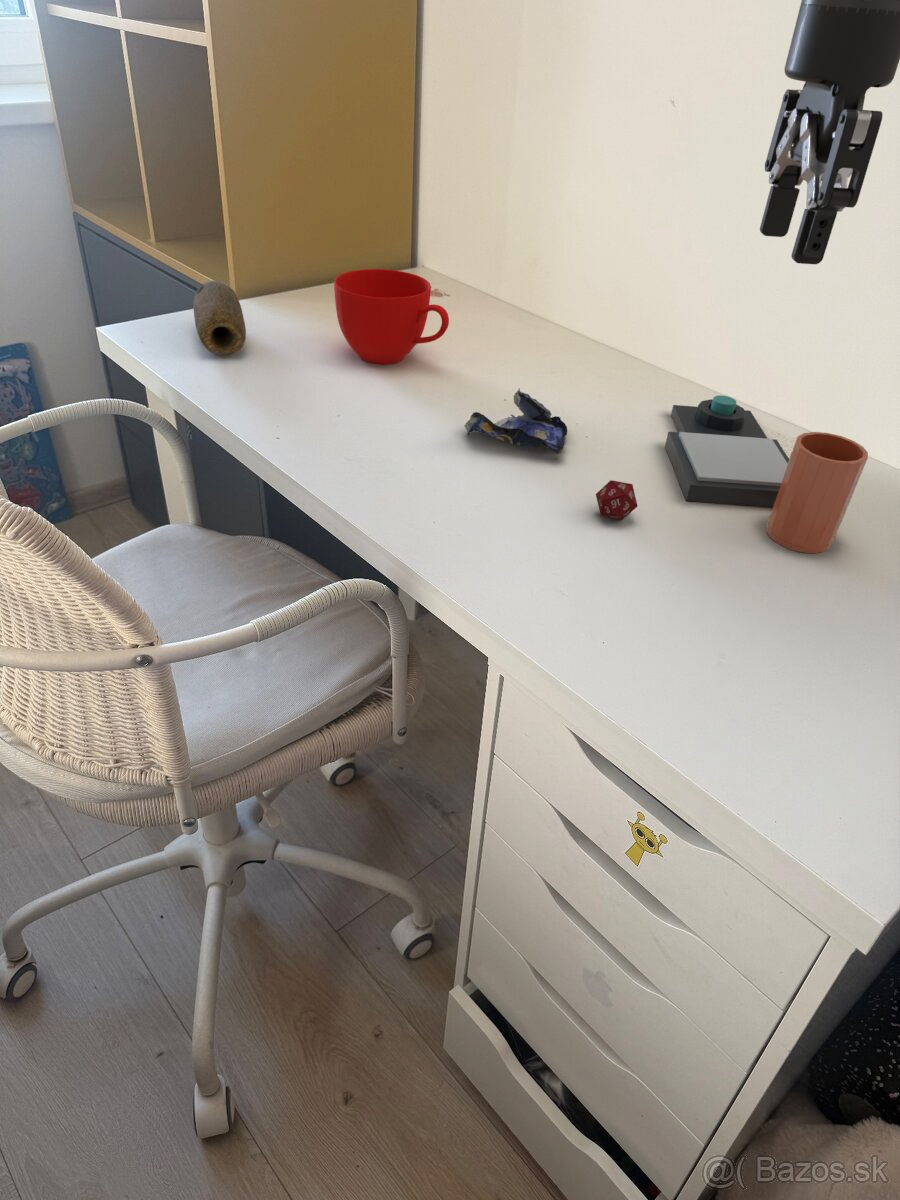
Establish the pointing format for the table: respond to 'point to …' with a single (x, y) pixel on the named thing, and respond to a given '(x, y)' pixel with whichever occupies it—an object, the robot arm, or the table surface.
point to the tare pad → (716, 421)
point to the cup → (815, 491)
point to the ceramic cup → (384, 313)
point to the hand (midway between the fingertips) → (787, 248)
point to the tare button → (723, 405)
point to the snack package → (523, 425)
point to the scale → (727, 468)
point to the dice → (616, 500)
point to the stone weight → (219, 318)
